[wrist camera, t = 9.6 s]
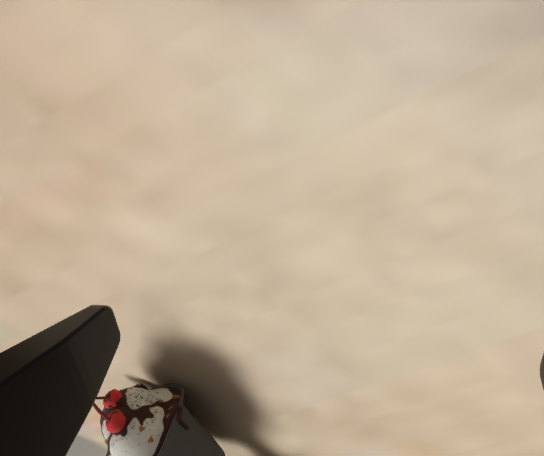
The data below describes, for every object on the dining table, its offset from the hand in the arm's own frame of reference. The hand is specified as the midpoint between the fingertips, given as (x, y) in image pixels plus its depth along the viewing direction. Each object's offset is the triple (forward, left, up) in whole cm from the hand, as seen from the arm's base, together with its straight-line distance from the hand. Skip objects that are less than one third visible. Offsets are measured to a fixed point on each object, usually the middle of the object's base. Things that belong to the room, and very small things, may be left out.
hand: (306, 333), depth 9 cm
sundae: (+7, +24, -9) cm, 27 cm away
